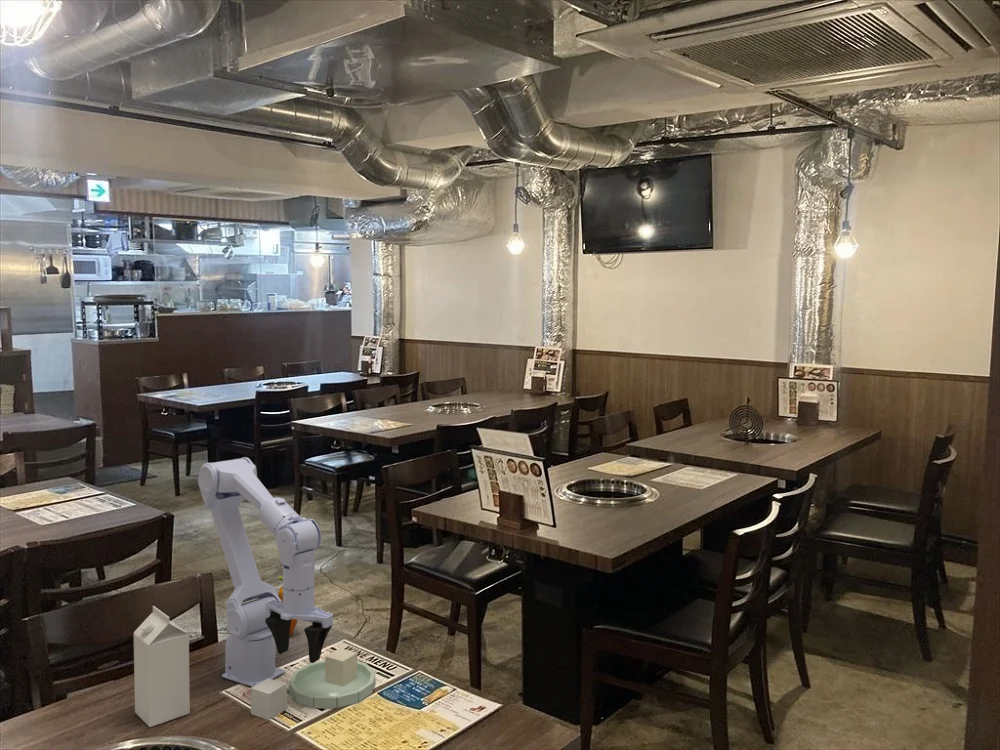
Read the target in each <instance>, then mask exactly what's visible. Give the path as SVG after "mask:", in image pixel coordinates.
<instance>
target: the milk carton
mask: <svg viewBox="0 0 1000 750" xmlns="http://www.w3.org/2000/svg"><path fill="white" fill-rule="evenodd" d="M189 637H190V634H189V633H188V632H187V631H185V630H184V629H182V628H181V627H180V626H179V625H178V624H176V623H175V622H173V621H171V620H170V616H168V615H167V614H166V613H164V612H163V611H162V610H160V609H159V608H157V607H156V606H155V605H152V612H151V613H150V614H149V615H148V616H147V617H146V618H145V619H144V621H143V622H142V623H140V625H139V626H138V627H137V628H136V629H135V631H134V632H133V666H134V667H133V670H134V674H133V675H134V713H135V714H136V715H137V716H138V717H139V718H140V719H141V720H142V721H143V722H144V723H145V724H146V725H147V726H148V727H149V728H152V727H155V726H157V725H160V724H164V723H166V722H169V721H172V720H174V719H177V718H180V717H184V716H186V715H189V714H190V713H191V712H190V711H191V709H190V706H191V705H190V703H191V701H190V696H191V695H190V643H189V642H190V640H189V639H190V638H189Z"/></svg>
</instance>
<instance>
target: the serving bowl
mask: <svg viewBox="0 0 1000 750" xmlns="http://www.w3.org/2000/svg"><path fill="white" fill-rule="evenodd" d="M375 684H376V672H375V671H374V669H372V668H371V666H370V665H368V664H367V663H365V662H361V661H358V660H357V678H355V679H353V680H352V681H350V682H349V683H347V684H346V685H344V686H340V685H337V684H334V683H330V682H327V681H325V659H324V660H318V661H316V662H314V663H310V662H309V663H307V664H306V665H304V666H302V667H301V668H299V669H297V670H296V671H294V672H292V675H291V677H290V679H289V680H288V694H289V696H290V697H291V696H292V697H291V698H292V699H293V701H294V702H295V703H296V702H297V703H296V704H299V703H300V704H299V705H302V706H306V707H308V708H312V709H313V708H314V709H339V708H343V707H347V706H351V705H354V704H358V703H360V702H362V701H363V700H364V699H366V698H367V697H369V696H371V695H372V694H373V692H374V689H375Z"/></svg>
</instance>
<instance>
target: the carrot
mask: <svg viewBox="0 0 1000 750" xmlns="http://www.w3.org/2000/svg"><path fill="white" fill-rule="evenodd" d="M277 579H278V580H280V581H282V582H283V576H278V578H277ZM277 595H278V597H279V598H280V599H281V601H283V585H282V586H281V587H280V588H279V589H278V593H277ZM297 623H298V619H292V620H291V625H290V631H289V635H290V636H291V635H292V634H293V633H294V631H295V629H296V627H297Z"/></svg>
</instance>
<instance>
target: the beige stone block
mask: <svg viewBox="0 0 1000 750" xmlns="http://www.w3.org/2000/svg"><path fill="white" fill-rule="evenodd" d="M324 660H325V681H327V682H330V683H334V684H337V685H340V686H344V685H346V684H347V683H349V682H350V681H352V680H353V679H355V678H357V661H358V652H355V651H352V650H349V649H345V648H341V647H339V648H338V649H335V650H334V651H332V652H331V653H329V654H327V655H325V657H324Z"/></svg>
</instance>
